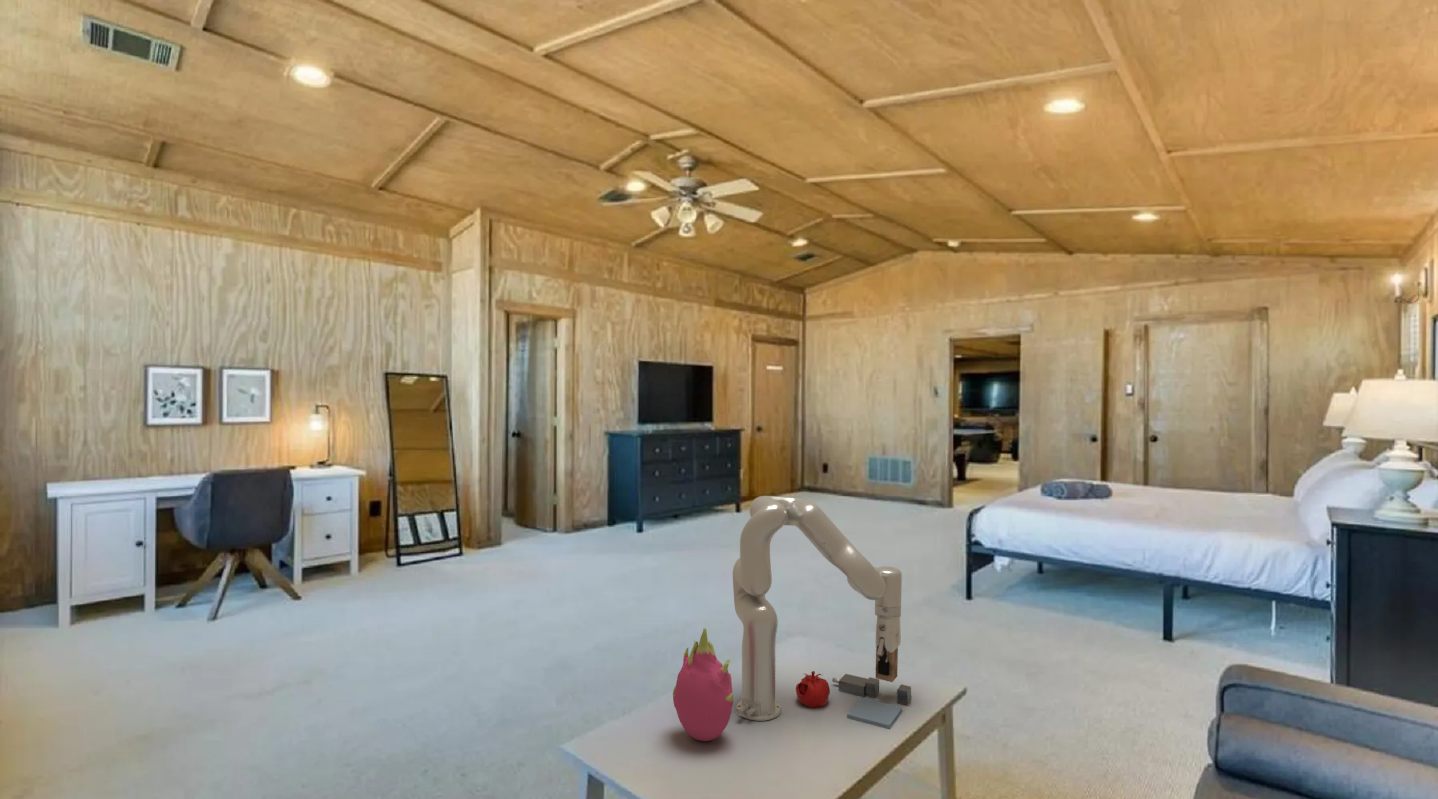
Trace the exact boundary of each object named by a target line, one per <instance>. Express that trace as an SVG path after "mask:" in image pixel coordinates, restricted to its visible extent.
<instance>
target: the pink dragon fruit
mask: <svg viewBox="0 0 1438 799" xmlns="http://www.w3.org/2000/svg"><path fill="white" fill-rule="evenodd" d="M693 642H694V644H693V647H692V648H691V651H690V654H689V647H687V648H686V649H685V650H684V653H683V660H682V661H683V663H682V667H681V668H680V670H679V672H678V674H677V677H676V678H677V679H676V683H675V686H674V688H673V691H672V698H673V699H672V702H673V706H674V709H675V711H676V713H677V717H678V720H679V722H680V723H681V727H682V728H683V730H685V732H686V733H687V734H688V735H689V736H690V737H692V738H693V739H695V740H697V741H698V742H699V741H700V742H710V741H712V740H715V739H716V738H718V737H719V736H720V735H722V733H723V732H724V731H725V729H726V728H727V726H728V724H729V721H730V719H731V715H732V711H733V705H734V693H733V687H732V681H733V680H732V674H731V673H729V664H730V663H731V660H730V659H726V661H725V662H724V664H723V663H721V661H720V660H718V658H717V656H716V652H715V648H714V645H713V643H712V642H711V641H710V640H709V639H708V632H707V628H706V627H703V630H702V633H701V636H700V639H699V642H698V641H693Z"/></svg>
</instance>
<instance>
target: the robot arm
mask: <svg viewBox="0 0 1438 799" xmlns="http://www.w3.org/2000/svg"><path fill="white" fill-rule="evenodd" d="M749 516H750V518H749V519H748V521H747V522H746V523H745V525H744V526H743V528H742V531H741V534H740V538H739V539H740V540H739V558H738V559H737V560H736V561H735V563H734V565H733V569H732V586H733V587H732V588H733V589H732V590H733V603H734V610H735V613H736V616H737V617H738V619H739V620H740V622H741V624H742V626H743V629H742V630H743V634H742V639H741V640H742V642H741V700H740V701H738V702H737V704H736V706H735V707H736V711H735V715H736V716H737V717H742V718H744V719H746V720H750V721H758V722H759V721H760V722H763V721H769V720H773V719H775V718H777V717H778V716H780V714H781V712H782V707H781V704H780V703H779V702H778V701H776V641H777V632H778V631H777V630H778V615H777V612H776V610H775V608H774V607H773V605H772V604H771V603H770V602H769V601H768V600H767V599H766V594H767V593H768V592H769V590H770V589H771V587H772V582H773V578H772V567H771V565H772V564H771V541H772V539H773V537H774V535H775V534H776V533H777V532H778V531H779V530H781V529H782V528H783V527H784V526H794V527H796V528H798V529H799V531H800V532H802V533H803V535H804V536H805V537H806V538H807V539H808V540H809V541H810V543H811V544H812V545H813V546H814V547H815V548H816V550H818V552H819V553H820V554H821V555H822V557H824V558H825V559H826V560H827V561H828V562H829V563H831V565H833V566H834V567H836V568H837V570H839V571H840V572H842V573H843V574H844V575H845V576H846V580H847V583H848V585H849V587H851V589H852V590H854V591H855V592H857V593H858V594H860V595H861V596H862V597H864V598H865V599H867V600H870V601H874V615H875V616H877V617H876V625H875V626H876V627H875V650H876V649H877V650H878V652H877V655H878V673H879V674H882V675H886V676H888V675H889V663H890V662H888V659H889V652H890V653H892V652H894V651H895V650H896V649H897V647H898V648H899V647H900V645H901V641H902V640H901V620H900V619H901V616H902V587H903V586H902V585H903V584H902V580H903V577H902V572H901V570H900V569H899V568H897V567H893V566H880V567H875V566H873V564H872V563H871V562H870V561H869V560H868V559H867V558H866V557H865V556H864V555H863V554H862V553H861V552H860V551H859V550H858V549H857V548H856V546H855V545H854V544H853V543H852V542H851V541H850V540H849V539H848V538H847V537H846V536H845V535H844V534H843V533H842V531H841V530H840V529H839V528H838V527H837V525H836V524H834V522H833V521H832V520H831V519H830V517H829V516H828V515H827V514H826V513H825V511H823V509H821V507H820V506H819V505H818V504H816V503H814V502H812V501H811V500H808V499H805V498H802V497H801V498H800V497H787V496H785V497H784V496H774V495H759V496H758V497H756V498H754V499H753V500H752V502H751V503H750V506H749ZM878 645H879V647H878ZM884 648H885V649H886V650H887V651H886V650H884ZM883 652H884V653H886V656H885V655H884V653H883Z"/></svg>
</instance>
